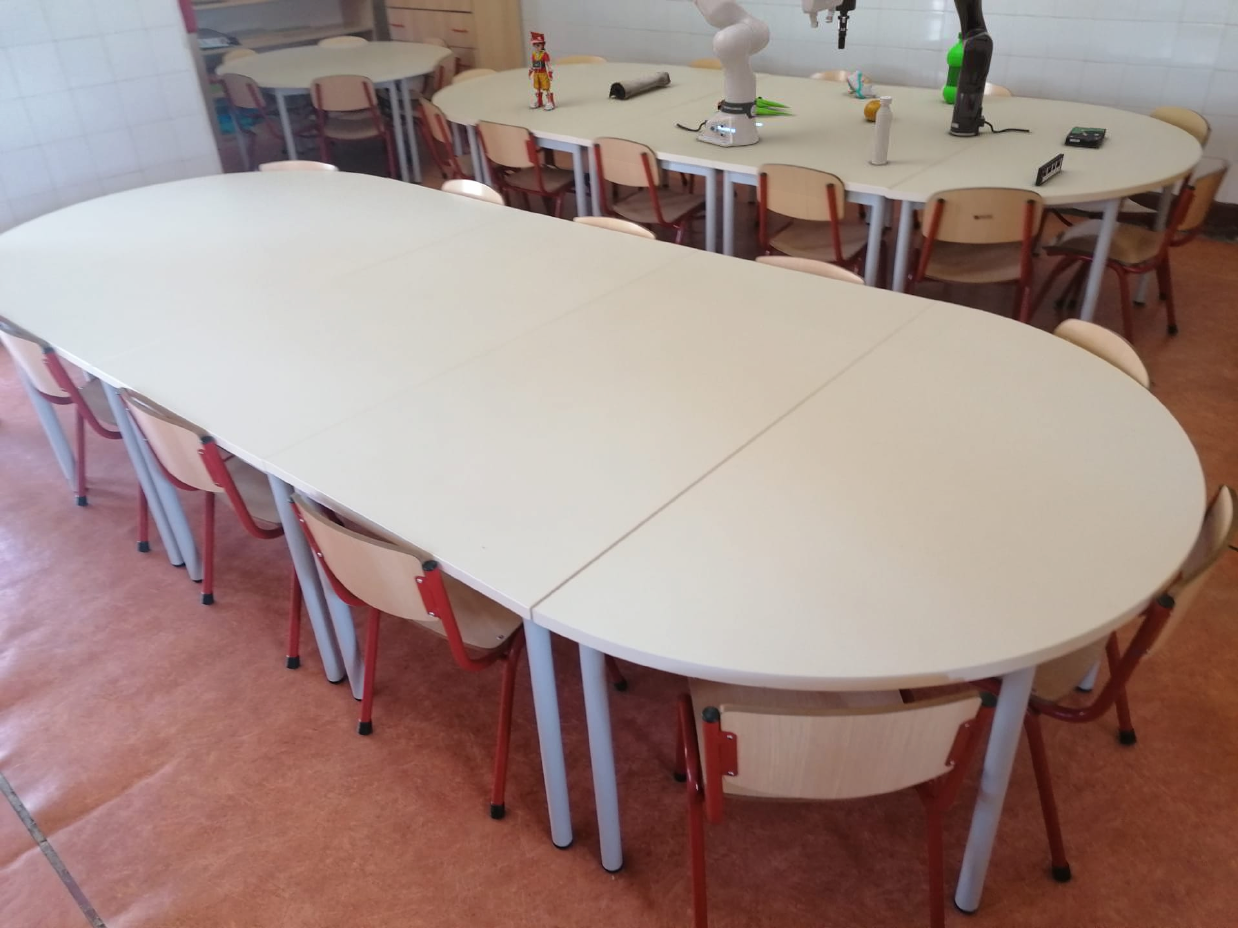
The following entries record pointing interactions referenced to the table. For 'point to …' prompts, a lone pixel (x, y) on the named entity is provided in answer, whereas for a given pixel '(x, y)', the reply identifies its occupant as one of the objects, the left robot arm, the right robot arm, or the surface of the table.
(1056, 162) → the midi keyboard
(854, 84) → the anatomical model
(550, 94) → the toy
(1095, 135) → the disk drive
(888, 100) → the cap
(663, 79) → the rolled mat
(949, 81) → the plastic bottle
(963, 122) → the right robot arm
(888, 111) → the bottle
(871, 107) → the fruit
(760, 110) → the toy
